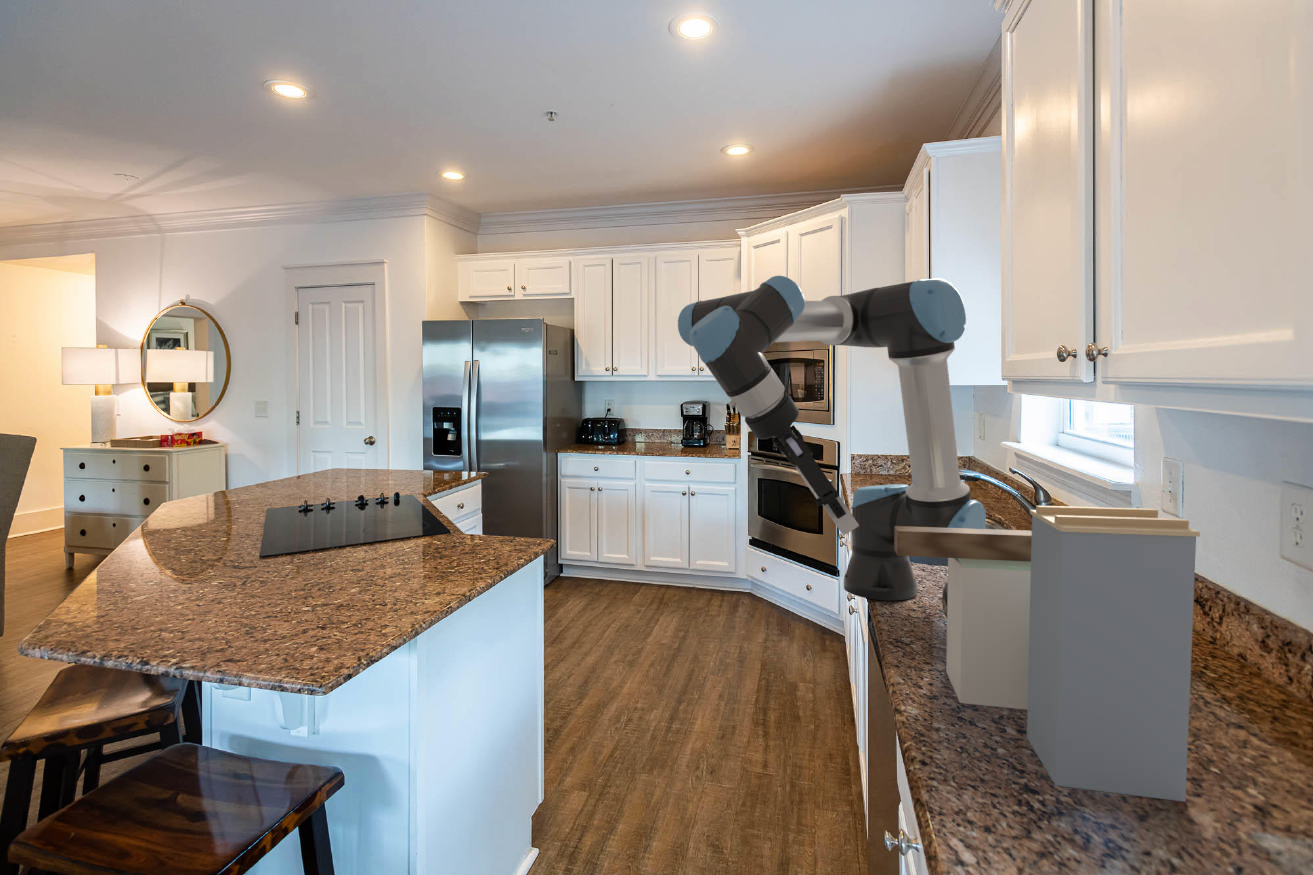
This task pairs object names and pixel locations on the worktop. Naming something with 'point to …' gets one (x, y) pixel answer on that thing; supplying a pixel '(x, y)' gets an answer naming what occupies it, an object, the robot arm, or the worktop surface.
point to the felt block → (989, 631)
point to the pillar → (1111, 648)
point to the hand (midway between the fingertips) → (836, 510)
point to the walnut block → (963, 543)
